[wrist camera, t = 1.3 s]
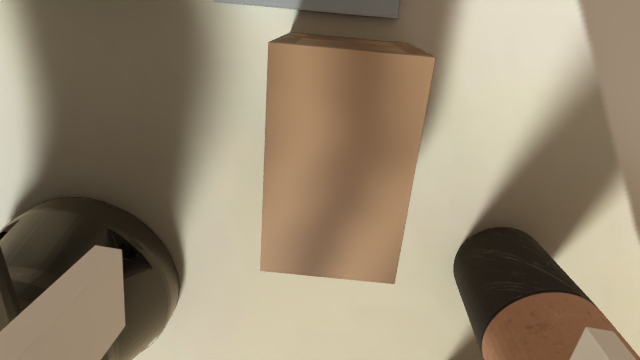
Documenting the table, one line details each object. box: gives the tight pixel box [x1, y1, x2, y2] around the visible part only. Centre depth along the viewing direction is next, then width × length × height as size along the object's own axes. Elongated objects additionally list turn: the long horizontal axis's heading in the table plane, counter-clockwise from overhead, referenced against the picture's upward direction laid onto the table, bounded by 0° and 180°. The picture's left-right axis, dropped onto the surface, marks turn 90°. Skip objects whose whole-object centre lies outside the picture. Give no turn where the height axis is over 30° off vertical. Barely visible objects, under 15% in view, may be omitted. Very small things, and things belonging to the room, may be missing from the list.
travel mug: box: [454, 227, 640, 360], centre depth 25 cm, size 8×8×20 cm
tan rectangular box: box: [260, 33, 435, 284], centre depth 27 cm, size 8×13×9 cm, turn 175°
